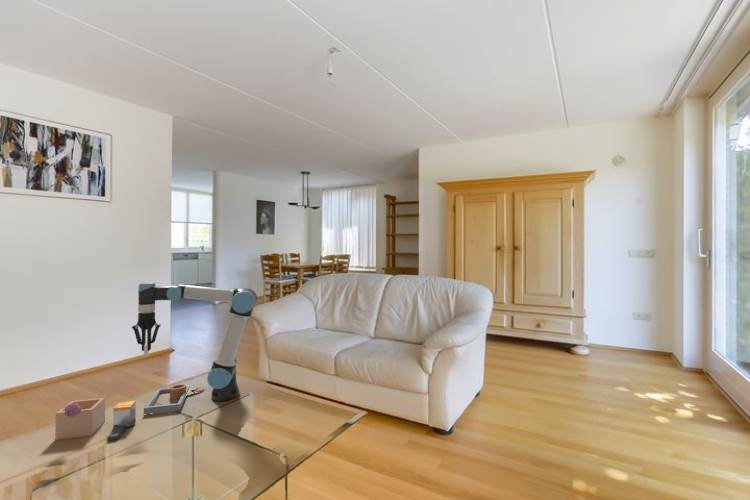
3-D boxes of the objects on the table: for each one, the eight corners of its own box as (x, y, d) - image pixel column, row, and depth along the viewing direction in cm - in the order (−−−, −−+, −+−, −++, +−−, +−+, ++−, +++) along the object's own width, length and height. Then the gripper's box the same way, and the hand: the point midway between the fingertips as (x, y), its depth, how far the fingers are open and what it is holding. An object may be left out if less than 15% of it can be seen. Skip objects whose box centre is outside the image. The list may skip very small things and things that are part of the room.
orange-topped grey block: (135, 416, 177) (135, 400, 178) (130, 423, 171) (130, 406, 171) (119, 418, 175) (119, 402, 176) (113, 425, 169) (113, 408, 169)
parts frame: (190, 392, 215) (190, 386, 215) (180, 411, 189) (180, 404, 189) (158, 395, 210) (158, 389, 210) (143, 415, 184) (143, 408, 184)
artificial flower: (86, 423, 172) (74, 418, 153) (70, 419, 170) (56, 414, 151) (95, 409, 176) (84, 402, 156) (80, 405, 174) (67, 398, 155)
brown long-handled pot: (171, 402, 199) (171, 390, 200) (168, 398, 206) (168, 386, 206) (205, 394, 211) (205, 382, 212) (201, 390, 218) (201, 379, 218)
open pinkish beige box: (105, 421, 177) (105, 397, 178) (92, 435, 164) (92, 409, 164) (71, 425, 173) (71, 401, 173) (55, 439, 160) (55, 413, 160)
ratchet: (138, 420, 179) (138, 404, 179) (124, 439, 161) (124, 421, 161) (117, 423, 176) (117, 406, 176) (100, 442, 158) (100, 424, 158)
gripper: (162, 310, 192) (162, 353, 191) (134, 311, 188) (134, 355, 187) (158, 312, 184) (158, 357, 184) (129, 313, 180) (129, 359, 180)
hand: (146, 356), depth 186 cm, fingers closed
